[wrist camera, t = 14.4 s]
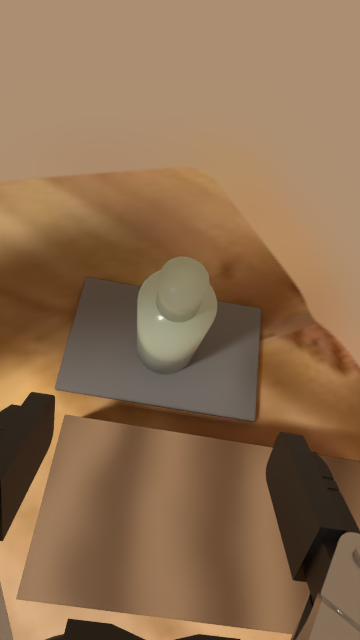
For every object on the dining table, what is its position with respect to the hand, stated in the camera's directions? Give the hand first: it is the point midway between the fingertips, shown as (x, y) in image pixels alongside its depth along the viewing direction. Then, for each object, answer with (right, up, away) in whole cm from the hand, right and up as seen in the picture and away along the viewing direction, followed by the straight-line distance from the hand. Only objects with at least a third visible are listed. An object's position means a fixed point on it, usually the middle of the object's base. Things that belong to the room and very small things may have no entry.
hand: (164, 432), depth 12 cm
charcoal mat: (-1, +2, +17) cm, 17 cm away
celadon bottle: (-1, +2, +17) cm, 17 cm away
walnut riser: (+3, -10, +13) cm, 17 cm away
